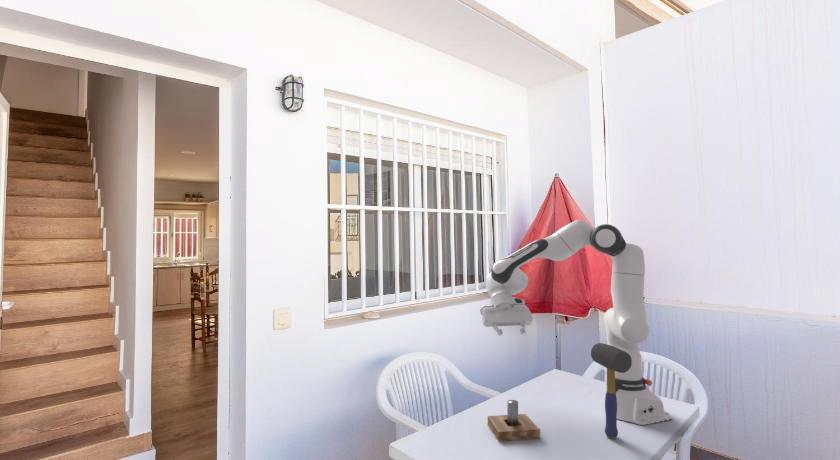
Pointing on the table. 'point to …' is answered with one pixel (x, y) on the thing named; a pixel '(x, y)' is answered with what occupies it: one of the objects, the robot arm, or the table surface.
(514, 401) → the pin
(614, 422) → the rubber mallet
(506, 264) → the robot arm
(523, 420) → the hole plate
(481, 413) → the table surface
